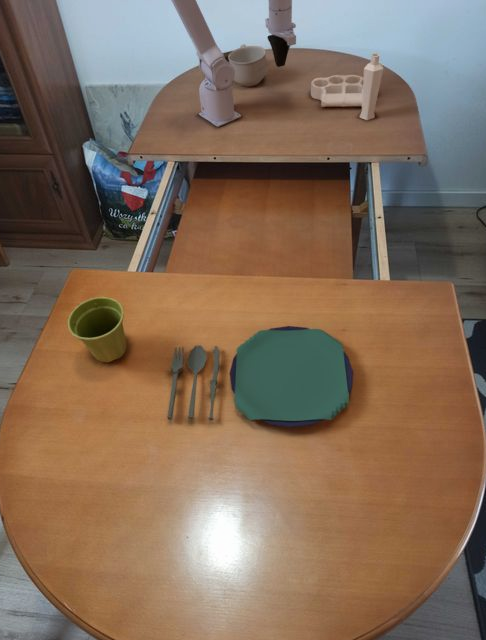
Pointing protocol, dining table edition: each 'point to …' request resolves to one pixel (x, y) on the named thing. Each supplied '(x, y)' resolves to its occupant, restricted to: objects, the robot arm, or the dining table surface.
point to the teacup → (248, 64)
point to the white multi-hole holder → (338, 90)
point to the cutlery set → (279, 376)
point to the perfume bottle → (371, 86)
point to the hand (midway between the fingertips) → (280, 65)
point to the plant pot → (99, 327)
